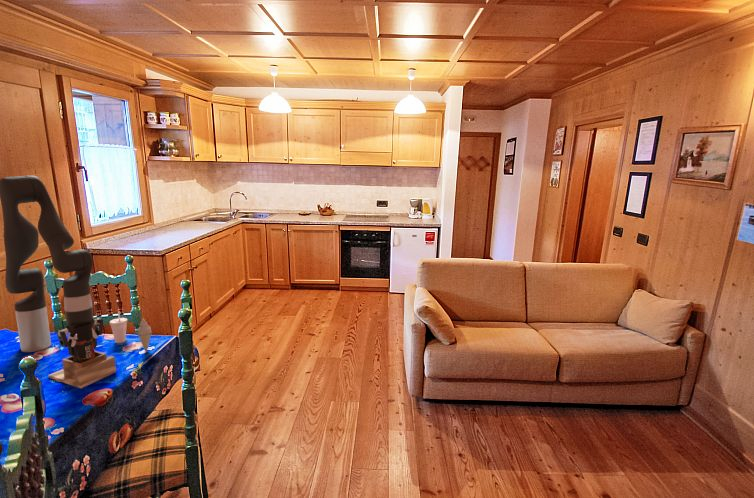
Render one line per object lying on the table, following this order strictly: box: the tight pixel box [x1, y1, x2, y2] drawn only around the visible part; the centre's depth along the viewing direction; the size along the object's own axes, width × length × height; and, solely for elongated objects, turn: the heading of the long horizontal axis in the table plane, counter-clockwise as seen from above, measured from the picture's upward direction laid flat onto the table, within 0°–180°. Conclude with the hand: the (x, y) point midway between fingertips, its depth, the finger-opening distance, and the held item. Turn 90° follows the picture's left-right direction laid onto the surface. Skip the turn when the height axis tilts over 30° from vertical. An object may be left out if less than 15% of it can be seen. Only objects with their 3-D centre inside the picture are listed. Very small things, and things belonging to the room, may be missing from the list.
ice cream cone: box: [136, 317, 153, 352], centre depth 152 cm, size 5×5×15 cm
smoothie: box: [109, 310, 128, 344], centre depth 160 cm, size 6×6×14 cm
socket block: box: [61, 349, 108, 380], centre depth 132 cm, size 9×9×6 cm
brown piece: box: [48, 355, 117, 389], centre depth 133 cm, size 17×12×6 cm
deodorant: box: [71, 322, 95, 363], centre depth 131 cm, size 6×6×15 cm
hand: (83, 351), depth 131 cm, fingers closed on deodorant, 6 cm apart
